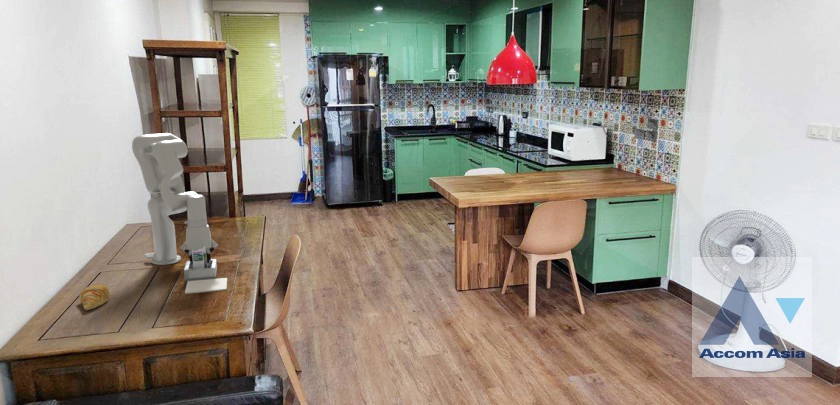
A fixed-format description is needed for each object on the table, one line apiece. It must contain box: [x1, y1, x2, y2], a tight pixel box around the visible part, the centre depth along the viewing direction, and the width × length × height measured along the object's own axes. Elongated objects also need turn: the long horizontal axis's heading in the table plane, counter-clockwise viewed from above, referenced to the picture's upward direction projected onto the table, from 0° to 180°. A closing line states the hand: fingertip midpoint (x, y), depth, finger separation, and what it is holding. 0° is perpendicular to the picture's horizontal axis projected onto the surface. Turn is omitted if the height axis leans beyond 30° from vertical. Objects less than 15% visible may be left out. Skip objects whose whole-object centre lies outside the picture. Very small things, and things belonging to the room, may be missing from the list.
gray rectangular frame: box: [183, 258, 218, 282], centre depth 250 cm, size 12×19×5 cm, turn 17°
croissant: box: [78, 283, 110, 311], centre depth 217 cm, size 21×10×8 cm, turn 16°
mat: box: [184, 277, 228, 295], centre depth 235 cm, size 16×13×1 cm
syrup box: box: [192, 246, 208, 268], centre depth 246 cm, size 6×6×14 cm
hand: (200, 262), depth 246 cm, fingers closed on syrup box, 5 cm apart
